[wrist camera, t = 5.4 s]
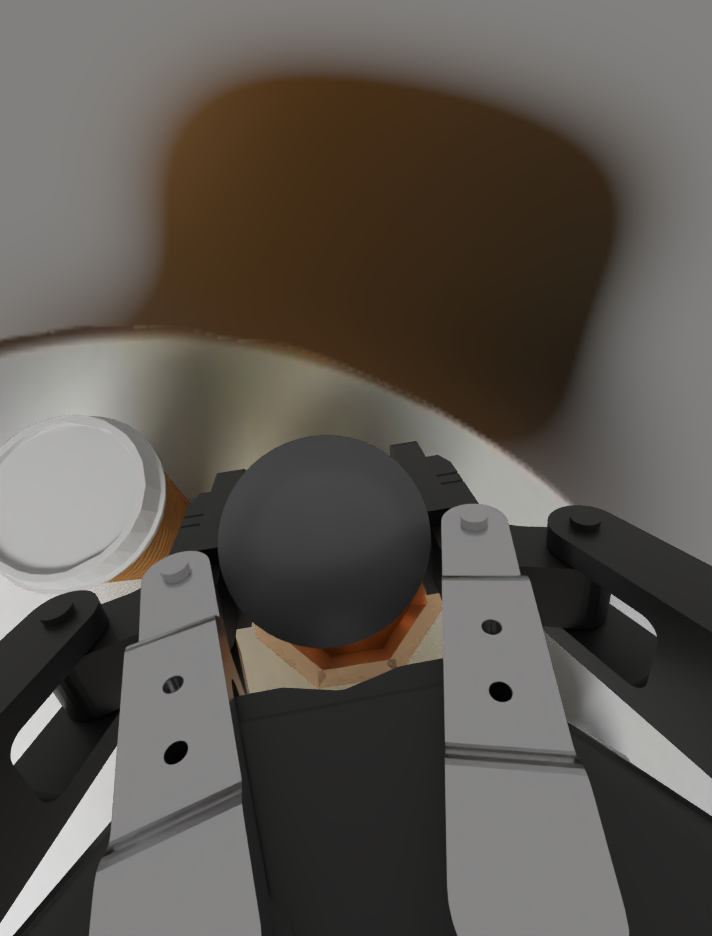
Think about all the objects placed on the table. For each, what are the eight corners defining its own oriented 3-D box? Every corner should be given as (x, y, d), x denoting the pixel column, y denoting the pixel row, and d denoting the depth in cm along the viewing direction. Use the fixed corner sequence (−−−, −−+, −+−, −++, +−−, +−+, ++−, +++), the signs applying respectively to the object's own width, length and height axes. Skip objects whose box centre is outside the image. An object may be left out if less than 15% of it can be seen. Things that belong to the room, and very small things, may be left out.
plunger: (289, 593, 23) (173, 556, 9) (337, 528, 24) (306, 399, 10) (354, 644, 22) (345, 698, 8) (401, 575, 23) (471, 512, 9)
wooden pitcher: (234, 582, 33) (169, 565, 22) (308, 489, 35) (284, 429, 24) (362, 686, 31) (365, 727, 20) (433, 580, 33) (472, 562, 22)
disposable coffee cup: (249, 526, 35) (194, 483, 23) (153, 629, 32) (41, 637, 21) (162, 449, 36) (72, 373, 25) (66, 541, 34) (-80, 505, 23)
